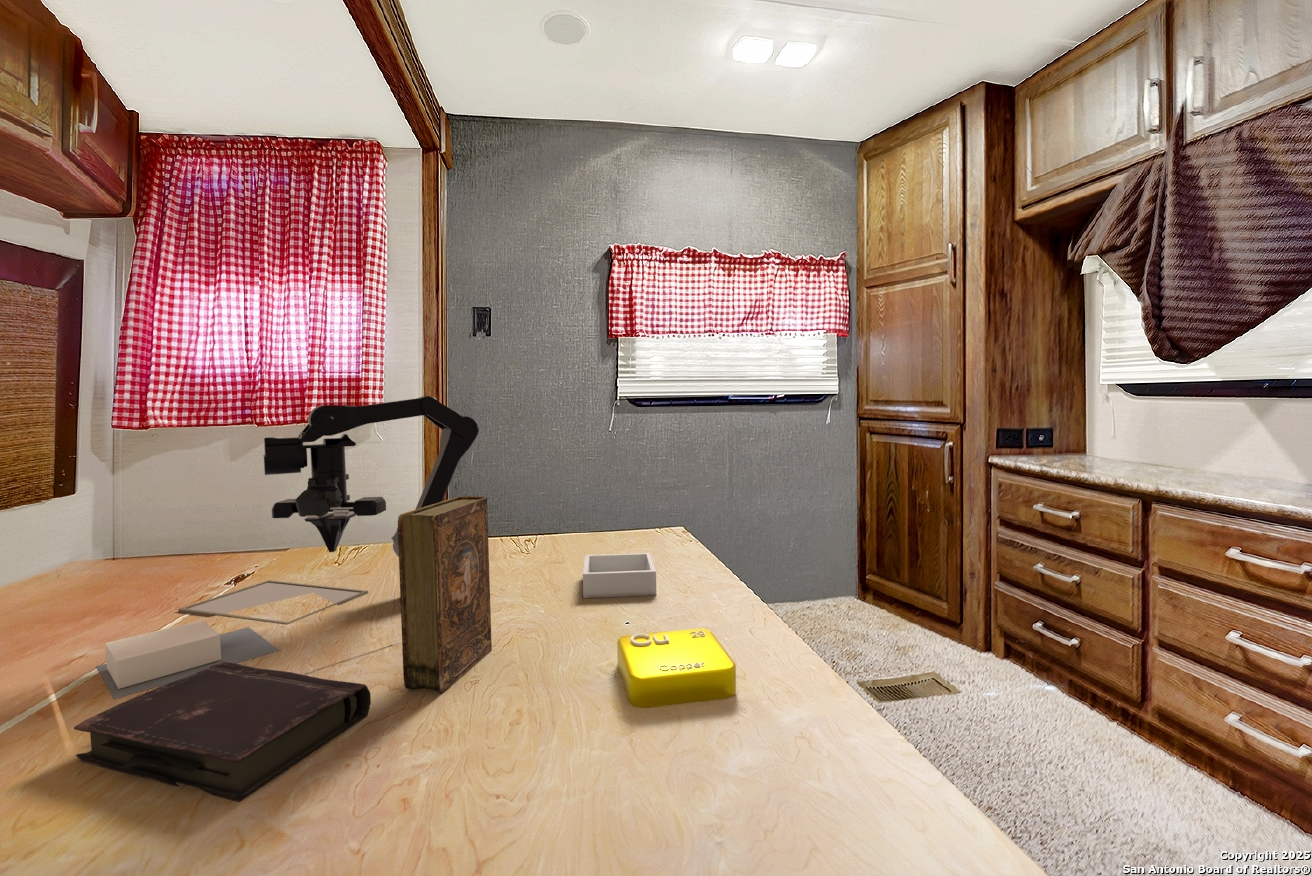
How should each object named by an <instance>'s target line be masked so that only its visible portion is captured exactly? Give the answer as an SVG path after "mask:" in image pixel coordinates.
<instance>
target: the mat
mask: <svg viewBox="0 0 1312 876" xmlns="http://www.w3.org/2000/svg"><path fill="white" fill-rule="evenodd" d="M219 634H220V645H221V660H218V661H215V662H211V663H208V664H204V665H201V666H197V667H194V668H190V669H187V670H183V671H180V672H176V673H173V674H169V675H166V676H162V677H159V678H155V679H152V680H148V681H145V682H141V683H138V684H134V685H131V686H127V687H124V688H120V689H118V687H117V685H116V684H115V682H114V680H113V678H112V677H111V675H110V673H109V671H108V670H107V663H104V664H100V665H97V666H96V669H97V670H98V672H99V674H100V676H101V678H102V679H103V681H104V683H105V685H106V687H107V690H108V691H109V693H110V694H111V696H112V698H113V700H116V699H120V698H123V697H127V696H131V695H134V694H138V693H141V692H144V691H147V690H148V691H149V690H152V689H155V688H158V687H160V686H163V685H166V684H168V683H171V682H174V681H176V680H179V679H182V678H184V677H187V676H190V675H192V674H194V673H197V672H199V671H201V670H204V669H206V668H210V667H211V666H213V665H215V664H218V663H220V662H223V661H226V662H231V663H236V664H240V663H243V662H245V661H249V660H253V659H256V658H260V657H263V656H267V655H270V654H273V653H276V652H280V651H281V650H280V649H279V648H277V647H276V646H275V645H273V644H272V643H271V642H269V641H268V640H267V639H265V638H264V637H262V636H261V635H260V634H259V633H257V632H256V631H254V629H252V628H251V627H249V626H247V627H243V628H239V629H236V630H231V631H229V632H224V633H219Z"/></svg>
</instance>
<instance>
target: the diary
mask: <svg viewBox="0 0 1312 876" xmlns="http://www.w3.org/2000/svg"><path fill="white" fill-rule="evenodd" d="M371 697H372V696H371V692H370V689H369V687H368V685H366V684H364V683H357V682H350V681H342V680H334V679H333V680H332V679H325V678H320V677H315V676H310V675H306V674H300V673H296V672H291V671H286V670H284V671H283V670H275V669H269V668H268V669H266V668H261V667H260V668H258V667H252V666H248V665H243V664H240V663H231V662H226V661H223V662H220V663H218V664H215V665H213V666H211V667H210V668H206V669H204V670H201V671H199V672H197V673H194V674H192V675H190V676H187V677H184V678H182V679H179V680H176V681H174V682H171V683H168V684H165V685H162V686H158V687H155V688H152V689H150V690H148V691H146V692H144V693H141V694H139V695H137V696H135V697H132V698H130V699H127V700H125V701H123V702H121V703H119V704H117V705H114V706H112V707H110V708H108V709H106V710H104V711H101V712H99V713H98V714H95V715H94V716H91V717H89V718H87V719H85V720H82V721H81V722H80V723H79V724H77V725H75V726H74V727H73V729H74V731H75V730H76V731H79V732H80V731H81V732H87V733H89V735H90V736H89V737H90V749H91V750H90V751H88V752H84V753H83V752H82V753H77V754H75V757H76V758H77V759H78V760H81V761H82V762H83V763H87V764H89V765H93V766H97V767H100V768H103V769H106V768H107V769H106V770H110V771H114V772H118V773H122V774H127V775H131V776H136V777H140V778H144V779H151V780H154V781H156V782H159V783H162V784H165V785H167V786H168V785H169V786H172V787H177V788H181V786H180V785H179V784H182V785H186V786H189V787H190V786H191V787H194V788H197V789H199V790H201V791H202V792H206V793H207V794H209V795H211V796H214V797H218V798H221V799H225V800H229V801H231V802H232V801H233V802H236V803H240V802H242V801H244V800H245V799H246V798H248V797H250V796H251V795H252V794H254V793H255V792H257V791H259V790H260V789H261V788H263V787H265V785H266V786H267V784H268V783H270V782H272V781H273V780H274V779H277V777H280V775H283V774H284V773H285V772H286V771H288V770H289V769H291V768H292V767H294V766H295V765H297V764H298V763H300V762H301V761H303V760H304V759H306V758H308V757H309V756H310V755H312V754H313V753H315V752H316V751H318V750H319V749H320V748H322V747H324V746H325V745H326V744H328V743H330V742H331V741H332V740H334V739H336V738H337V737H338V736H340V735H341V734H343V733H344V732H346V731H347V730H349V729H351V728H352V727H353V726H355V725H356V724H358V723H359V722H361V721H363V720H364V719H365V718H366V717H368V715H369V712H370V707H371V703H372V701H371Z"/></svg>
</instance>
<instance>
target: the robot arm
mask: <svg viewBox="0 0 1312 876" xmlns="http://www.w3.org/2000/svg"><path fill="white" fill-rule="evenodd" d="M420 416H423V417H425V418H426V419H427V420H429V422H431V423H432V424H434V425H435V426H436V427H437V428H439V429H440V430H441V432H440V439H439V448H438V449H439V453H438V455H437V458H436V460H435V462H434V464H433V466H432V469H431V472H430V473H429V476H428V479H427V481H426V483H425V485H424V488H423V490H422V493H421V495H420V498H419V499H418V501H417V504H416V507H415V509H414V510H416V509H419V508H423V507H426V506H429V505H432V504H435V503H439V502H442V501H444V498H445V496H446V494H447V491H448V488H449V486H450V483H451V481H452V479H453V477H454V476H453V475H454V474H455V471H456V469H457V466H458V464H459V462H460V460H461V459H462V457H464V455H465V454H466V453H467V452H468V451H469V450H470V449H471V447H472V445H473V444H474V442H475V440H476V439H477V438H478V435H479V431H480V429H479V426H478V423H477V422H476V420H475V419H473V418H472V417H470V416H466V415H465V416H464V415H461V414H460V413H458V412H456V411H454V410H453V409H451V408H449V407H448V406H447V405H445V404H443V403H442V402H440V401H439V400H438V399H437V398H436V397H434V396H431V395H425V396H420V397H417V398H410V399H402V400H396V401H389V402H387V401H386V402H380V403H374V404H366V405H365V404H364V405H340V404H339V405H335V404H333V405H332V404H322V405H318V406H315V407H314V408H313V409H312V410H311V411H310V412H309V414H308V417H307V425H306V426H305V428H303V430H302V431H300V432H299V435H298V436H297V437H273V436H271V437H264V438H263V442H264V443H263V445H264V454H263V469H264V476H269V475H270V476H271V475H272V476H273V475H285V474H286V475H287V474H300V473H302V469H304V468H307V467H308V451H307V449H310V468H311V477H309V478H308V479H307V487H306V489H305V490H303V491H302V492H301V493H300V494H299V495H298V496H297V497H296V498H287V499H284V500H280V501H277V502H274V504H273V505H272V508H271V518H272V519H289V518H291V517H292V515H293V514H298V516H299V517H301V518H302V517H303V518H304V517H306V518H304V521H305V522H306V523H308V522H309V523H311V524H312V525H313V526H315V528H316V530H318V532H319V534H320V536H321V538H322V540H323V543H324V544H325V546H326V549H327V550H328V552H329V553H335V552H336V551H337V549H338V547H339V544H340V541H341V539H342V536H343V534H344V531H345V529H346V527H347V525H348V523H349V521H350V519H351V518H353V517H356V516H358V517H365V516H368V517H370V516H373V517H374V516H377V515H379V514H382V513H383V512H385V511H387V501H386V500H385V498H384V497H383V496H363V497H362V498H358V499H356V500H355V501H350V500H351V498H350V496H351V495H350V494H348V493H347V492H348V490H347V481H348V480H349V479H350V478H349V477H350V476H349V473H347V471H346V448H345V447H356V445H357V442H355V441H354V440H352V439H351V438H350V437H349V435H348V434H347V433H344V432H346V431H347V432H348V431H351V430H353V429H356V428H358V427H362V426H365V425H368V424H369V425H370V424H375V423H382V422H388V421H395V420H401V419H408V418H415V417H420ZM342 433H343V434H342ZM338 434H342V435H341V436H340V437H333V438H323V441H322V443H320V444H319V443H316V444H315V443H314V442H315V441H317V440H319V439H321V438H322V437H324V436H325V437H327V436H329V437H331V436H335V435H338ZM304 443H311V444H304ZM313 443H314V444H313ZM391 540H392V541H393V543H392V549H393V552H394V554H395V555H396V556H397V557H398V558H399V548H398V527H397V528H396V532H395V533H394V535H393V536H392V537H391Z"/></svg>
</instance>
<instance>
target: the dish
mask: <svg viewBox="0 0 1312 876" xmlns="http://www.w3.org/2000/svg"><path fill="white" fill-rule="evenodd" d="M583 563H584V564H583V570H582V598H583V599H595V598H619V597H643V596H645V597H646V596H647V597H648V596H657V570H656V566H655V564H654V560H653V557H652V553H651V552H637V553H635V552H634V553H633V552H632V553H611V554H609V553H608V554H605V553H603V554H585V555H584V561H583Z"/></svg>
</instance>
